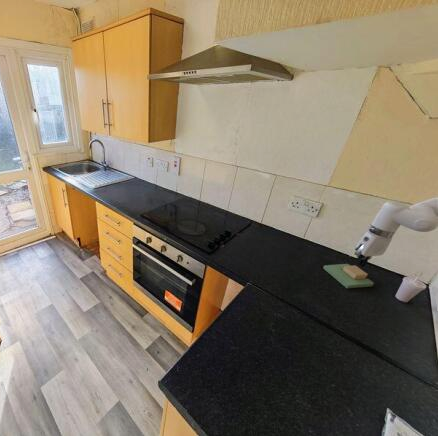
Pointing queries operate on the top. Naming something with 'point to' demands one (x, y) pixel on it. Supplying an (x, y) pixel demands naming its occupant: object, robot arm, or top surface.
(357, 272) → the tan block
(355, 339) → the top surface
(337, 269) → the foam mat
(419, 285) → the smoothie
